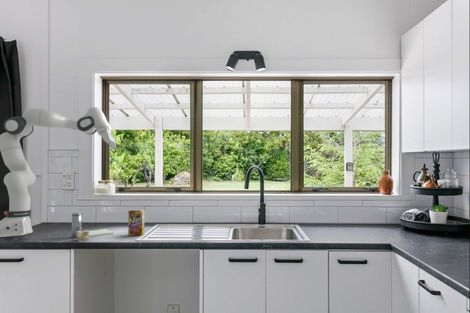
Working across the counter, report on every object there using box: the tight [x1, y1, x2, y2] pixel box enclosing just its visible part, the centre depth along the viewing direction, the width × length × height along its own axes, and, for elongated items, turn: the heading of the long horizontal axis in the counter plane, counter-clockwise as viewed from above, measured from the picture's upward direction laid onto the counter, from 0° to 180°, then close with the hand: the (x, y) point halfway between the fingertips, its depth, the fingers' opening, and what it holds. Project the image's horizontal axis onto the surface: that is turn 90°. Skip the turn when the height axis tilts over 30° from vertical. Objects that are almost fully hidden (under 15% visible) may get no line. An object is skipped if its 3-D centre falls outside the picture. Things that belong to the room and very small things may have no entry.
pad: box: [88, 228, 114, 238], centre depth 205 cm, size 14×14×1 cm
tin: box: [71, 212, 83, 239], centre depth 195 cm, size 5×5×14 cm
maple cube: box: [76, 229, 90, 242], centre depth 188 cm, size 5×5×5 cm
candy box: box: [127, 209, 146, 237], centre depth 201 cm, size 9×4×15 cm, turn 84°
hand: (114, 149), depth 217 cm, fingers open, 8 cm apart
